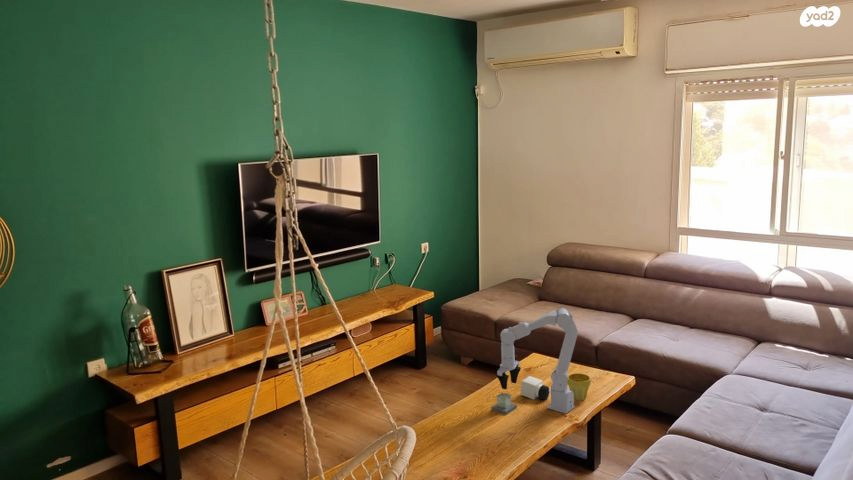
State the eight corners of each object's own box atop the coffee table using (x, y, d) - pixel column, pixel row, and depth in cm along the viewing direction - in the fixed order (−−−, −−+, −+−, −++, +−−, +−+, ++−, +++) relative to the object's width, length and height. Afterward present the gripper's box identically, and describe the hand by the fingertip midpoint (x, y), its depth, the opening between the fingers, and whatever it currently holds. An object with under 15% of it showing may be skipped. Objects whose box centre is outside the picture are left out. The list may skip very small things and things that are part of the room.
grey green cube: (511, 405, 288) (511, 394, 287) (505, 409, 284) (505, 398, 283) (502, 403, 291) (502, 392, 290) (496, 406, 287) (496, 396, 286)
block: (516, 409, 288) (516, 405, 288) (506, 415, 282) (506, 411, 282) (501, 404, 293) (501, 400, 293) (491, 411, 288) (491, 406, 287)
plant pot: (595, 399, 293) (595, 379, 291) (575, 404, 289) (575, 383, 287) (581, 391, 302) (581, 371, 300) (562, 395, 298) (562, 375, 297)
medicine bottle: (520, 394, 300) (543, 403, 292) (521, 380, 298) (544, 389, 291) (528, 389, 305) (551, 398, 298) (529, 375, 303) (552, 383, 296)
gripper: (509, 349, 292) (510, 378, 295) (490, 359, 282) (492, 389, 284) (522, 352, 288) (523, 381, 290) (504, 363, 277) (505, 393, 280)
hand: (509, 385), depth 287 cm, fingers open, 7 cm apart
